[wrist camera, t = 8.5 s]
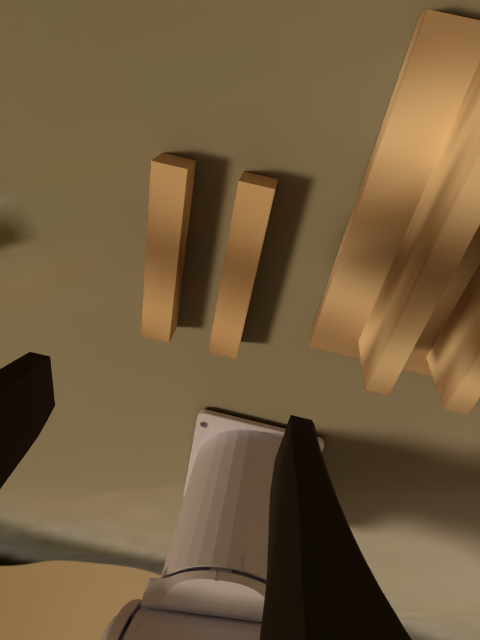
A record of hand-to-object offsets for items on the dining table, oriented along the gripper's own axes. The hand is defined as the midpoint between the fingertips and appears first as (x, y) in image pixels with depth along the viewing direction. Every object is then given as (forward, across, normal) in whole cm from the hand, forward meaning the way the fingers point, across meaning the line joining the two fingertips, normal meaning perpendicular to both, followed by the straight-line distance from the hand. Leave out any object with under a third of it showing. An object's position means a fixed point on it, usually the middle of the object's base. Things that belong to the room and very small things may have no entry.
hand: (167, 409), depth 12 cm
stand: (+10, +1, 0) cm, 10 cm away
